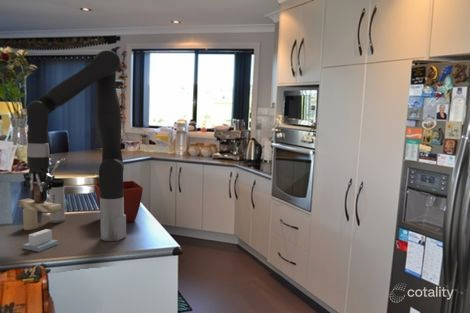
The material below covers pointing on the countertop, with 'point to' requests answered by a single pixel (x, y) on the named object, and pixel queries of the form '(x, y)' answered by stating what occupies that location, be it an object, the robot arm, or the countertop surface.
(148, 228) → the countertop surface
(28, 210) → the candle
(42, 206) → the maple bar
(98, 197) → the plant pot
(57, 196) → the travel mug
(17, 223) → the countertop surface
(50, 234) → the fulcrum block
